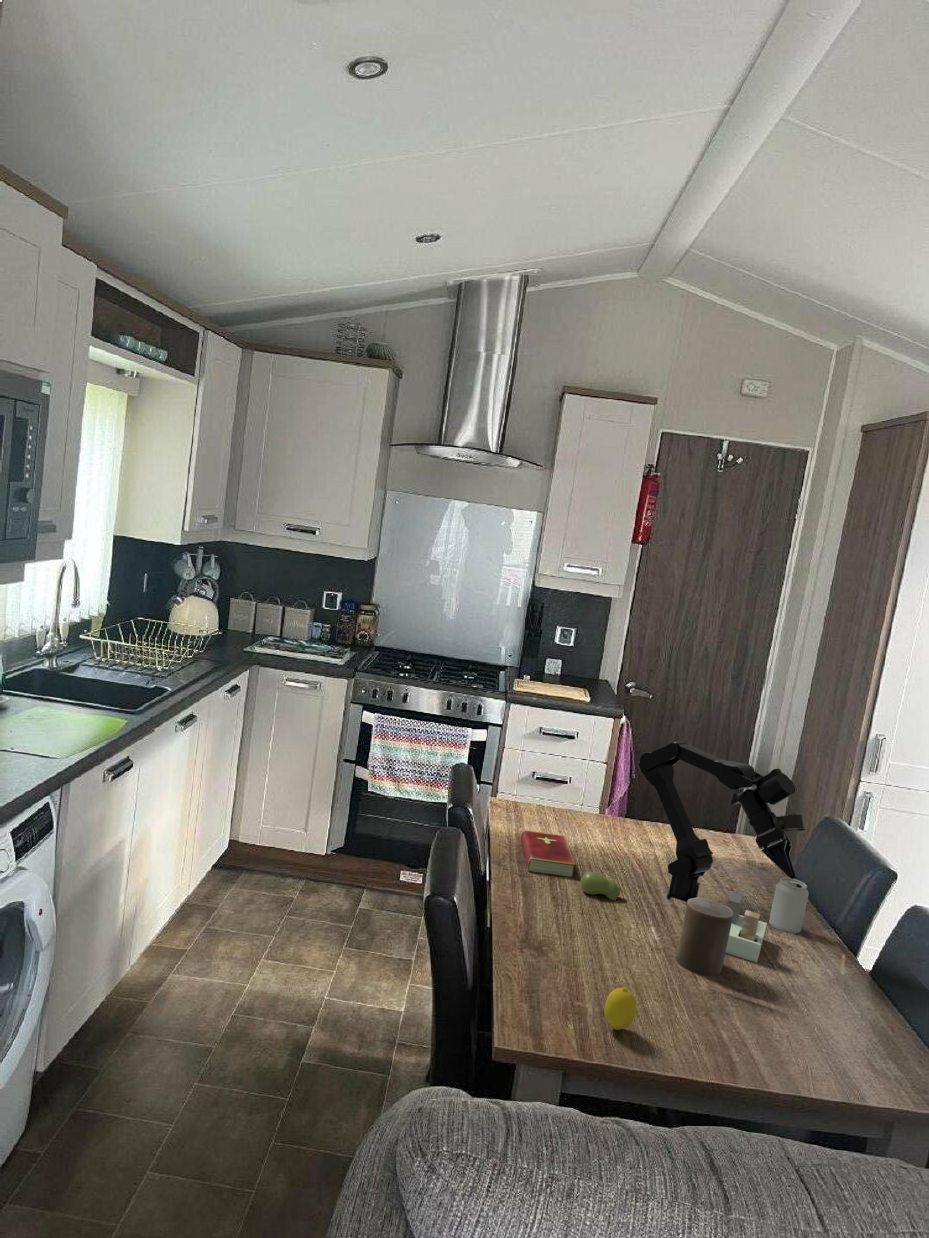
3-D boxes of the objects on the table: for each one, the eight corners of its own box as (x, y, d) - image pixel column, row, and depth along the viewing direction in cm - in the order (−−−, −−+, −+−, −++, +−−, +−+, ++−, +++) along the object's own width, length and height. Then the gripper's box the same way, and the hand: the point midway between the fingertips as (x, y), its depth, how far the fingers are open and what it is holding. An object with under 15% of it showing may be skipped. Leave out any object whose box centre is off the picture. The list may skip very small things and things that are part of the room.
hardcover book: (526, 872, 237) (529, 857, 236) (519, 843, 258) (522, 828, 257) (573, 879, 237) (575, 863, 237) (562, 849, 258) (564, 834, 258)
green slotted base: (713, 934, 206) (718, 909, 205) (722, 913, 218) (726, 889, 218) (760, 949, 202) (765, 923, 201) (766, 927, 215) (771, 902, 214)
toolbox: (709, 951, 206) (713, 934, 206) (718, 929, 219) (721, 913, 218) (756, 966, 202) (759, 949, 202) (762, 943, 215) (765, 926, 215)
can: (802, 939, 221) (812, 891, 220) (770, 931, 223) (779, 884, 221) (797, 926, 229) (807, 879, 227) (766, 919, 230) (775, 873, 229)
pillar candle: (695, 982, 191) (710, 912, 189) (665, 958, 199) (678, 892, 197) (730, 978, 195) (745, 910, 194) (699, 955, 204) (713, 890, 202)
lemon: (598, 1019, 170) (605, 978, 169) (627, 1022, 170) (635, 981, 169) (605, 1036, 164) (613, 994, 163) (635, 1040, 165) (643, 997, 164)
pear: (584, 865, 231) (622, 879, 231) (577, 885, 232) (615, 898, 231) (585, 873, 226) (624, 887, 225) (577, 893, 226) (617, 907, 226)
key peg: (736, 953, 205) (744, 914, 204) (738, 948, 208) (746, 909, 207) (750, 957, 204) (758, 918, 203) (752, 952, 207) (759, 914, 206)
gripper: (787, 793, 210) (822, 858, 203) (794, 804, 226) (827, 865, 219) (741, 814, 212) (775, 879, 205) (752, 824, 228) (783, 885, 221)
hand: (792, 876), depth 213 cm, fingers open, 9 cm apart
